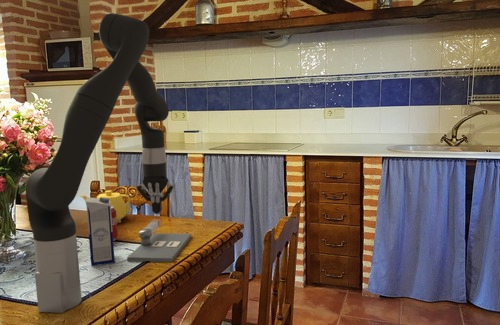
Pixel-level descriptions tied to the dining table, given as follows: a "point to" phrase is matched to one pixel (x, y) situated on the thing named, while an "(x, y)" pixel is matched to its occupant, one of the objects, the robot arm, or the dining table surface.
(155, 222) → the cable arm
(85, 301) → the dining table surface
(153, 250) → the panel
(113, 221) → the beverage can
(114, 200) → the teapot
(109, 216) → the milk carton
